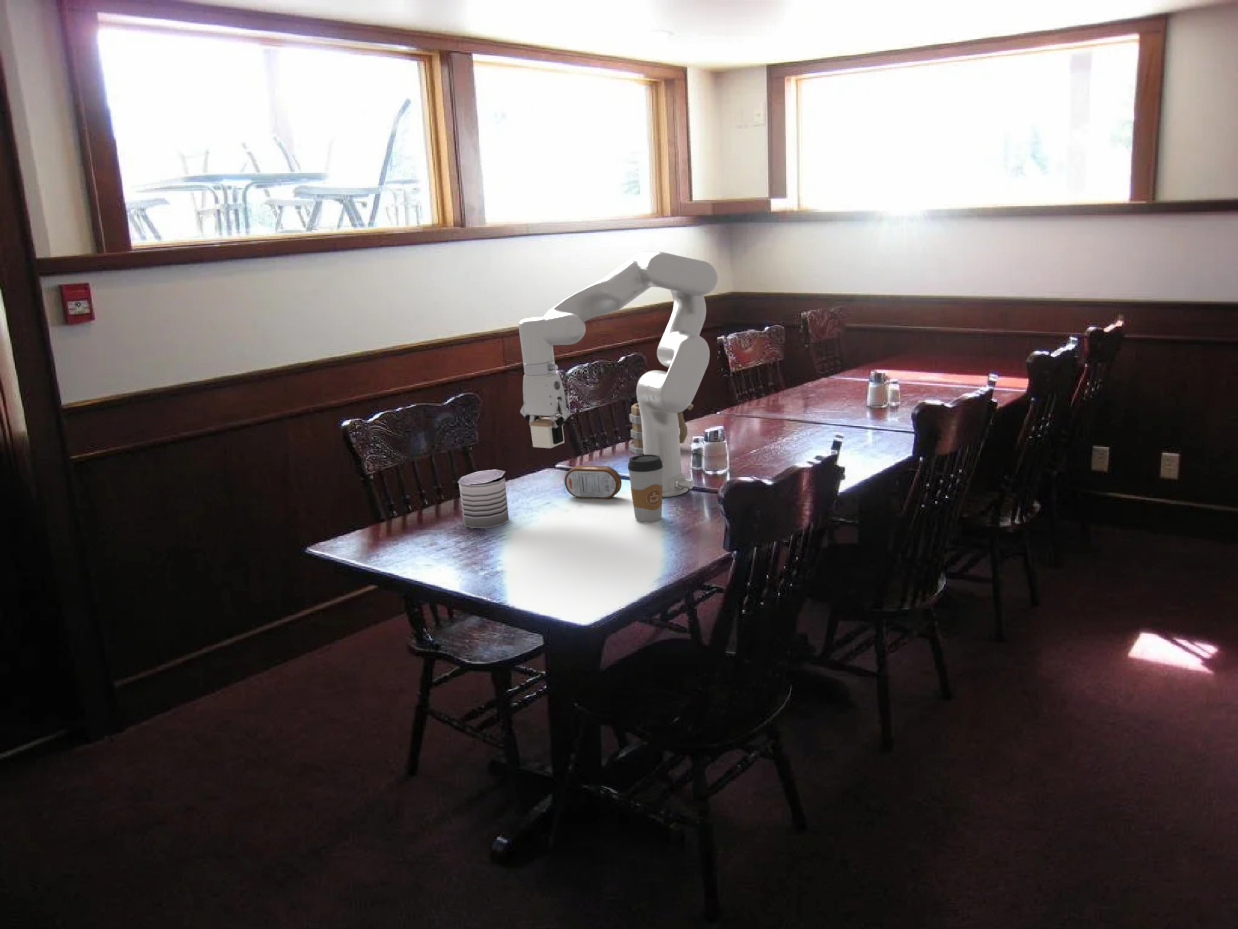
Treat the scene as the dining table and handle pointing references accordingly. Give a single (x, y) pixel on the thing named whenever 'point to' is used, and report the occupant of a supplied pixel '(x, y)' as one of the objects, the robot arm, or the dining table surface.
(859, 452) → the dining table surface
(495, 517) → the can
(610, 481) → the tin
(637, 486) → the coffee cup
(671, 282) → the robot arm
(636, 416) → the tankard
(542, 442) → the cream block
